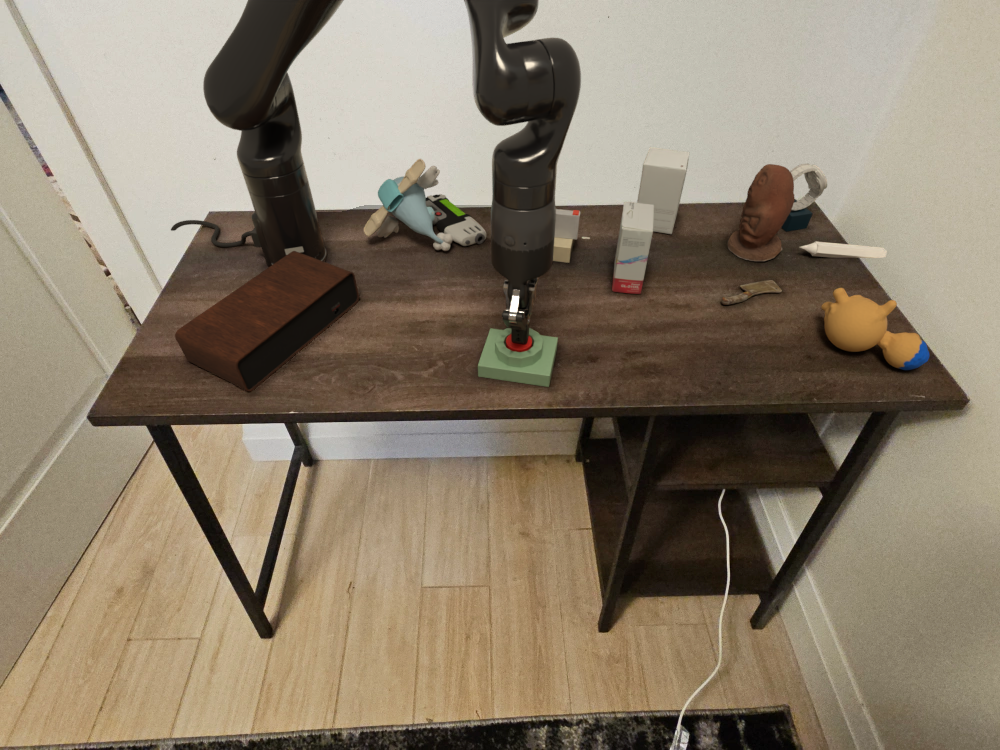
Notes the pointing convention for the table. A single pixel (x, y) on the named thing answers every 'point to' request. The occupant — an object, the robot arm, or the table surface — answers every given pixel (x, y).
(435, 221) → the toy gun
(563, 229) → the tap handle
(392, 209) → the toy figure
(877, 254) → the white pointed rod
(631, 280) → the ink box
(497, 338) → the button box
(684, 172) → the white packaging box
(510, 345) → the stop button
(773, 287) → the meat cleaver
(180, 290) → the table surface
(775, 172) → the figurine
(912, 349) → the toy
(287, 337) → the alarm clock
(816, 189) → the watch
